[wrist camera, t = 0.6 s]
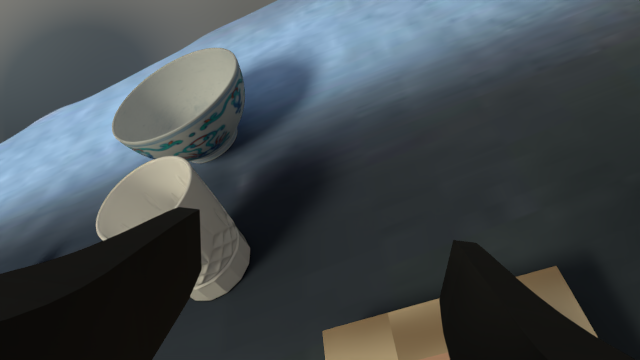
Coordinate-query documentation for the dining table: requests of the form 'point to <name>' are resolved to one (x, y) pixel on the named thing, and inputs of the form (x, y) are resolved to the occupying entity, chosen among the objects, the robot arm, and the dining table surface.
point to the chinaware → (185, 108)
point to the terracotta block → (438, 357)
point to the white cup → (169, 193)
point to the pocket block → (432, 325)
